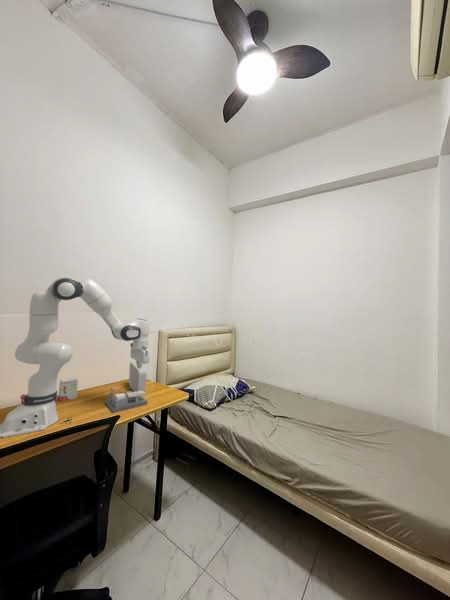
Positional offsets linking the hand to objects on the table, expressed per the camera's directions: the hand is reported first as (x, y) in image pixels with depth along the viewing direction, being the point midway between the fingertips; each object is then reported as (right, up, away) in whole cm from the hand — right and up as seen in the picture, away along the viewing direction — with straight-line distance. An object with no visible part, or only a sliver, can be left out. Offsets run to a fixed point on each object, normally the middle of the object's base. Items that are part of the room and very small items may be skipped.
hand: (139, 368), depth 143 cm
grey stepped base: (-6, -20, -4) cm, 21 cm away
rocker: (-1, -14, -3) cm, 15 cm away
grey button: (-7, -17, -10) cm, 21 cm away
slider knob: (-7, -18, +1) cm, 19 cm away
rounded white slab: (-8, -21, +20) cm, 30 cm away
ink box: (-44, -19, 0) cm, 48 cm away
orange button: (-12, -15, -4) cm, 20 cm away
